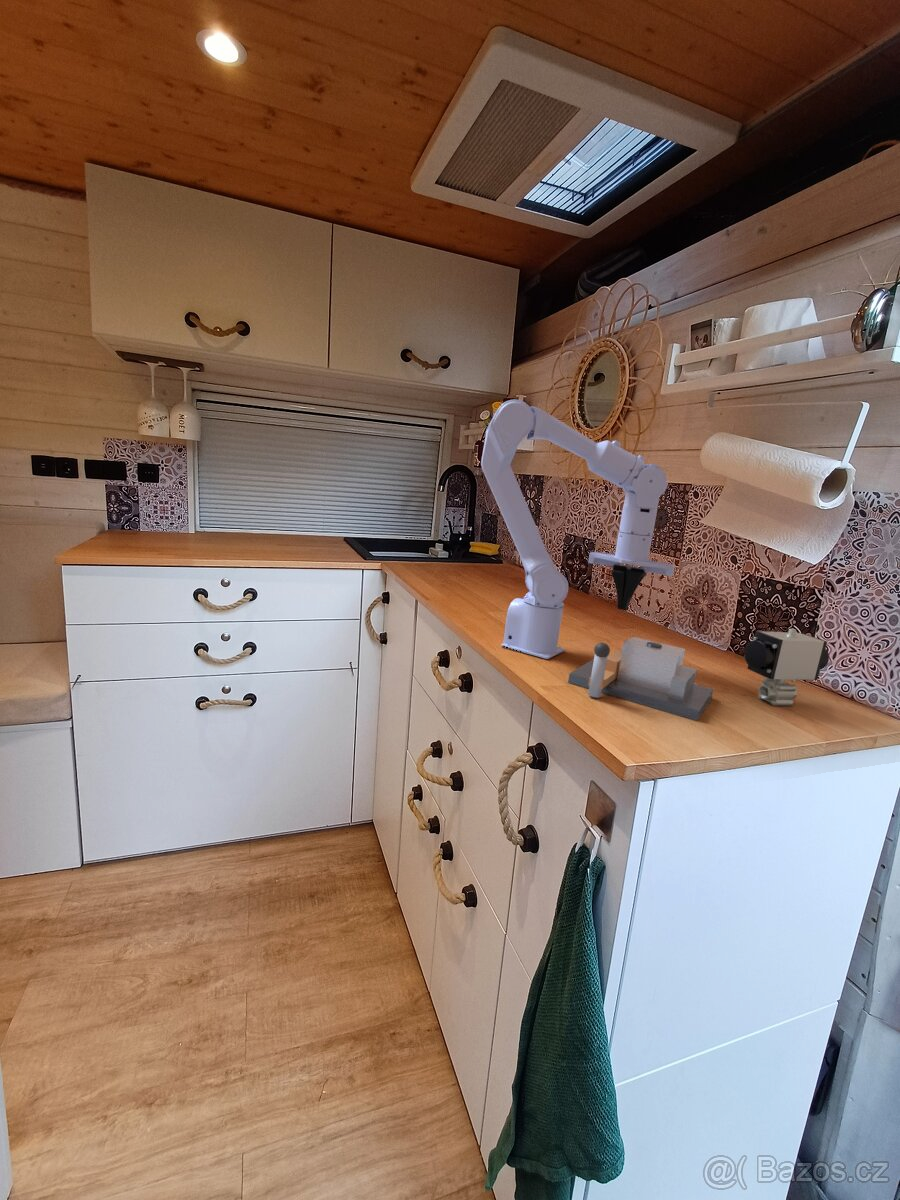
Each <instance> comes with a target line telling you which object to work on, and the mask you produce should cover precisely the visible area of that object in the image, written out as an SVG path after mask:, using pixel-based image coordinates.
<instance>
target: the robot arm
mask: <svg viewBox="0 0 900 1200" xmlns="http://www.w3.org/2000/svg"><path fill="white" fill-rule="evenodd" d="M484 437H485V439H484V443H483V450H482V456H481V461H480V466H481V469H482V472H483V474H484V476H485V479H486V482H487V484H488V486H489V488H490V490H491V493H492V495H493V497H494V500H495V502H496V504H497V507H498V508H499V511H500V513H501V515H502V517H503V520H504V523H505V524H506V527H507V530H508V531H509V534H510V537H511V539H512V541H513V544H514V545H515V548H516V549H517V553H518V554H519V557H520V561H521V563H522V565H523V568H524V571H525V580H524V581H525V586H526V588H527V590H528V592H526V594H525V595H524V596H523V598H521V597H517V598H516V597H515V598H514V599H513V600H512V601H511V602H510V604H509V606H508V609H507V612H506V613H507V614H506V619H505V627H504V636H503V641H502V642H503V643H501V644H500V646H501V645H502V646H505V647H504V648H506V647H508V648H507V649H509V648H511V649H510V650H513V649H514V650H513V651H516V650H517V652H520V651H521V652H520V653H525V654H528V655H531V656H535V657H539V658H542V659H546V660H549V659H551V658H553V657H554V656H557V655H559V654H561V653H563V652H565V651H566V650H565V648H564V647H562V646H558V645H559V637H560V633H561V632H560V630H561V625H562V617H563V611H564V605H565V603H564V602H563V601H564V600H565V599H566V598H567V596H568V593H569V582H568V580H567V578H566V577H565V575H564V574H563V573H561V572H560V571H559V570H558V569H557V567H556V566H555V563H554V561H553V559H552V557H551V555H550V554H549V553H548V551H547V549H546V546H545V543H544V541H543V539H542V537H541V534H540V532H539V530H538V527H537V525H536V523H535V520H534V517H533V515H532V513H531V511H530V508H529V506H528V504H527V502H526V499H525V497H524V494H523V492H522V490H521V488H520V485H519V483H518V480H517V478H516V475H515V473H514V471H513V469H512V466H511V464H512V461H513V459H514V457H515V454H516V453H517V450H518V447H519V446H520V444H521V443H522V442H523V441H524V440H525V438H526V441H535V440H537V441H538V440H546V441H548V442H550V443H552V444H554V445H555V446H558V447H560V448H562V449H563V450H566V451H568V452H570V453H571V454H573V455H576V456H578V457H580V458H581V459H584V460H585V462H586V464H587V468H588V471H589V472H591V473H593V474H595V475H596V476H599V477H600V478H602V479H604V480H606V481H607V482H610V483H611V484H612V485H615V486H617V487H619V488H622V489H623V491H624V493H625V496H624V503H623V505H622V511H621V517H620V523H619V529H618V535H617V540H616V546H615V552H614V553H615V554H611V553H603V552H601V553H600V552H596V551H592V552H589V556H588V562H587V563H588V564H592V565H593V564H596V565H600V566H601V565H602V566H606V567H607V566H608V567H612V569H611V571H610V572H611V576H612V578H613V579H612V580H613V581H614V586H615V591H616V597H617V598H616V599H617V609H618V610H622V611H626V610H628V609H629V606H630V602H631V600H632V597H633V595H634V594H635V592H636V590H637V588H638V586H639V585H640V584H641V582H642V580H643V579H644V578H645V576H646V575H647V573H650V574H657V575H664V576H666V577H673V576H674V571H675V567H676V566H675V564H672V563H665V562H660V561H656V560H651V559H650V560H649V557H650V551H651V546H652V542H653V536H654V532H655V531H654V530H655V525H656V520H657V519H656V518H657V515H658V514H657V513H658V506H659V500H660V497H661V496H662V495H663V494H665V492H666V490H667V489H668V485H669V482H668V481H667V476H666V473H665V472H664V470H663V468H662V467H661V466H659V465H657V464H654V463H647V464H646V463H645V459H646V458H645V456H642V455H640V454H639V455H635V454H633V453H632V452H629V450H626V449H624V448H622V447H621V446H622V442H620V441H618V440H612V442H611V441H610V440H608V439H607V440H603V441H600V442H596V441H594V440H593V439H590V438H589V437H588V436H585V435H584V434H582V433H581V432H579V431H578V430H576V429H574V428H573V427H572V426H570V425H568V424H566V423H564V422H563V421H562V420H559V419H558V418H556V417H555V416H553V415H551V414H550V413H548V412H546V411H544V410H543V409H541V408H539V407H536V406H533V405H532V406H530V405H528V403H527V402H525V401H523V400H521V399H510V400H506V401H504V402H503V403H502V404H501V405H500V406H499V407H498V409H497V410H496V411H495V413H494V415H493V416H492V418H491V420H490V422H489V424H488V426H487V427H486V431H485V436H484ZM637 566H638V567H637ZM502 646H501V647H502Z"/></svg>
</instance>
